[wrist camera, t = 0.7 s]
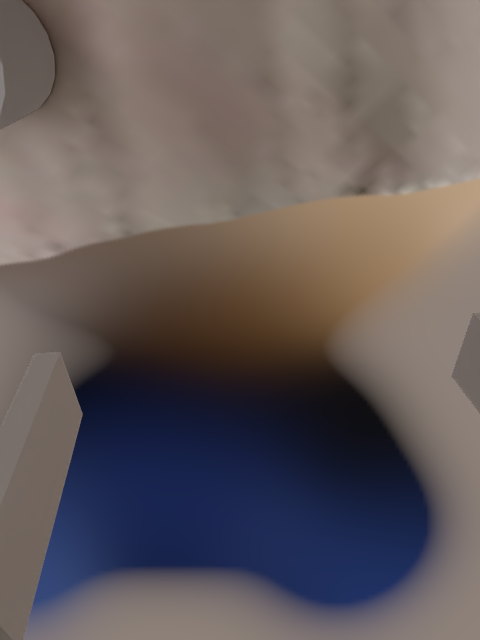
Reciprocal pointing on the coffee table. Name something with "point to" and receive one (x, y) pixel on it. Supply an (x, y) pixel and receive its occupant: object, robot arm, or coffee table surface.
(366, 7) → the coffee table surface
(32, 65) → the can
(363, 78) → the coffee table surface
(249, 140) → the coffee table surface
